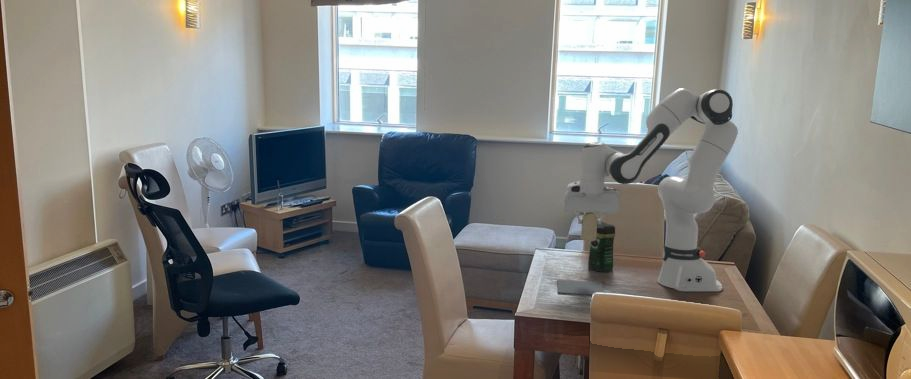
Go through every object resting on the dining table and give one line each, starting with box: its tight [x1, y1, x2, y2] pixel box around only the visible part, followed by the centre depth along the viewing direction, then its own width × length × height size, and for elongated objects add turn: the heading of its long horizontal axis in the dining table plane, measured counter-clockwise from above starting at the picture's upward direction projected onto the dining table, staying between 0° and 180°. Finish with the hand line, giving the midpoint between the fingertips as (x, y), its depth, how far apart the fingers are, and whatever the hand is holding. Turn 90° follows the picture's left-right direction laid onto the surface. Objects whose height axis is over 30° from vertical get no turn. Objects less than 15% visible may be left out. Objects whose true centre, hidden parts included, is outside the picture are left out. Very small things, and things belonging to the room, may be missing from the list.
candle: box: [580, 212, 599, 242], centre depth 255 cm, size 6×6×10 cm
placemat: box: [556, 279, 605, 297], centre depth 248 cm, size 16×14×1 cm
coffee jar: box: [587, 221, 616, 273], centre depth 270 cm, size 10×8×19 cm
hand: (589, 223), depth 255 cm, fingers closed on candle, 5 cm apart
